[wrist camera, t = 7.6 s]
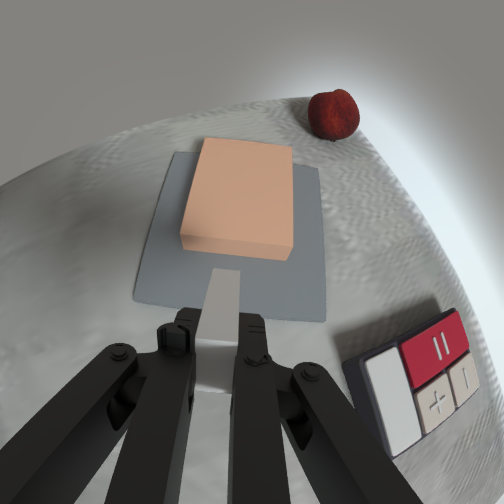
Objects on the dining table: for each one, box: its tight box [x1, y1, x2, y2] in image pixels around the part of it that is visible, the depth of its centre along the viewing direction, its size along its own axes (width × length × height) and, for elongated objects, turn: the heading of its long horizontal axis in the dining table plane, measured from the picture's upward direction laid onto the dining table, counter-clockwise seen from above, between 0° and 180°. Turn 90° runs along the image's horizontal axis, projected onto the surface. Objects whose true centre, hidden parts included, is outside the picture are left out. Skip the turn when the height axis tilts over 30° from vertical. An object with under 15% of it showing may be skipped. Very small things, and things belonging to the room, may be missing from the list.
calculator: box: [342, 308, 479, 460], centre depth 22 cm, size 11×4×15 cm
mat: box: [133, 152, 326, 322], centre depth 29 cm, size 18×19×1 cm
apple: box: [308, 89, 360, 142], centre depth 35 cm, size 7×8×8 cm
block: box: [180, 137, 293, 261], centre depth 28 cm, size 10×3×13 cm
